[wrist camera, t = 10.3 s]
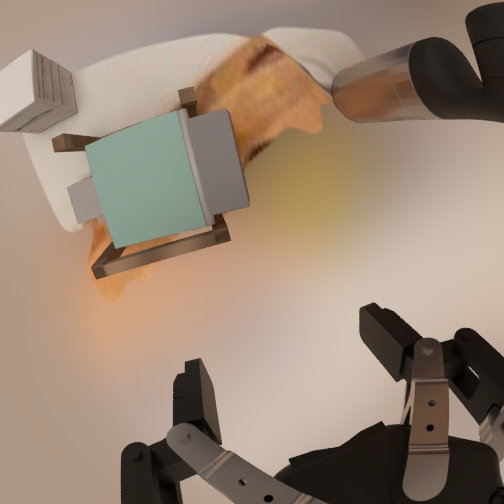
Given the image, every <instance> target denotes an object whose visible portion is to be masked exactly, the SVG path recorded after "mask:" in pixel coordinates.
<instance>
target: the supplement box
mask: <svg viewBox="0 0 504 504" xmlns="http://www.w3.org/2000/svg"><path fill="white" fill-rule="evenodd" d="M74 114H77V108H76V102H75V96H74V90H73V83H72V76H71V72H70V71H68V70H66V69H65V68H63V67H62V66H60V65H58V64H57V63H55V62H53V61H52V60H50V59H48V58H47V57H45V56H43V55H42V54H40V53H38V52H37V51H35V50H33V49H30V50H28V51H27V52H25V53H24V54H22V55H21V56H19V57H18V58H16V59H15V60H14V61H12V62H11V63H10V64H8V65H7V66H5V67H4V68H3V69H1V70H0V132H25V133H41V132H42V131H44V130H45V129H47V128H49V127H50V126H52V125H54V124H56V123H58V122H60V121H62V120H64V119H66V118H68V117H70V116H72V115H74Z"/></svg>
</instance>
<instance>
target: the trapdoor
mask: <svg viewBox="0 0 504 504" xmlns="http://www.w3.org/2000/svg"><path fill="white" fill-rule="evenodd" d="M85 150H86V154H87V158H88V162H89V166H90V170H91V174H92V178H93V181H94V185H95V188H96V192H97V195H98V198H99V202H100V205H101V208H102V211H103V214H104V217H105V220H106V223H107V226H108V229H109V232H110V235H111V238H112V240H113V243H114V246H115V249H117V248H121V247H124V246H128V245H132V244H136V243H140V242H144V241H148V240H152V239H156V238H160V237H164V236H168V235H172V234H177V233H181V232H185V231H189V230H193V229H198V228H202V227H206V226H211V225H214V224H215V220H214V216H213V215H215V214H219V213H224V212H228V211H233V210H237V209H242V208H246V207H249V194H248V190H247V186H246V181H245V176H244V172H243V168H242V163H241V159H240V155H239V150H238V146H237V142H236V137H235V133H234V129H233V124H232V120H231V116H230V113H229V111H228V110H227V109H224V110H219V111H215V112H211V113H207V114H204V115H200V116H196V117H193V118H189V116H188V112H187V108H185V109H180V110H178V111H174V112H171V113H168V114H165V115H161V116H159V117H156V118H153V119H150V120H147V121H144V122H142V123H139V124H136V125H134V126H131V127H128V128H126V129H123V130H121V131H118V132H116V133H114V134H111V135H109V136H107V137H104V138H102V139H100V140H98V141H95V142H93V143H91V144H89V145H87V146H85Z"/></svg>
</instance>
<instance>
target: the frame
mask: <svg viewBox="0 0 504 504" xmlns="http://www.w3.org/2000/svg"><path fill="white" fill-rule="evenodd" d="M178 93H179V97H180V101H181V105H182V109H185V108H187V112H188V116H189V118H193V117H196V103H197V100H196V96H195V91H194V87H189V88H185V89H181V90H178ZM141 123H142V122H141ZM138 124H139V123H138ZM135 125H136V124H135ZM132 126H134V125H132ZM129 127H131V126H129ZM127 128H128V127H127ZM124 129H126V128H124ZM121 130H123V129H121ZM121 130H118V131H121ZM118 131H116V132H118ZM116 132H113V133H111V134H114V133H116ZM111 134H108V135H105V136H103V137H100V138H98V137H91V136H82V135H73V134H61V135H59V136H57V137H55V138H53V139H52V143H53V148H54V152H72V151H86V150H85V146H87V145H89V144H91V143H93V142H95V141H98V140H100V139H102V138H104V137H107V136H109V135H111ZM213 216H214V220H215V224H214V225H212V228H213V230H212V231H208V232H204V233H201V234H197V235H194V236H190V237H187V238H183V239H180V240H176V241H173V242H169V243H166V244H163V245H159V246H156V247H152V248H149V249H146V250H142V251H139V252H136V253H132V254H129V255H126V256H123V257H120V256H121V254H122V253H123V251H124V250H125V248H126V247H127V246H124V247H121V248H117V249H115V246H114V243H113V241H112V242H111V244H110V245H109V246H108V247H107V248H106V250H105V251H104V252H103V253H102V254H101V256H100V257H99V258H98V259H97V261H96V262H95V263H94V264H93V265H92V267H91V268H92V271H93V273H94V275H95V278H96V279H99V278H103V277H106V276H110V275H113V274H116V273H120V272H123V271H126V270H130V269H133V268H137V267H140V266H143V265H147V264H150V263H154V262H157V261H161V260H164V259H167V258H171V257H175V256H178V255H182V254H185V253H188V252H192V251H196V250H199V249H203V248H206V247H210V246H214V245H217V244H221V243H224V242H228V241H231V239H230V235H229V231H228V227H227V225H226V222H225V220H224V218H223V215H222V213H219V214H215V215H213Z"/></svg>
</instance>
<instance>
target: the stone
mask: <svg viewBox="0 0 504 504" xmlns="http://www.w3.org/2000/svg"><path fill="white" fill-rule="evenodd" d="M67 190H68V193H69V196H70V200H71V203H72V206H73V210H74V213H75V216H76V219H77V222H78V224H80V223H83V222H86V221H88V220H91V219H94V218H96V217H99V216H102V215H104V214H103V211H102V208H101V205H100V202H99V198H98V195H97V192H96V188H95V185H94V181H93V178H92V177H90V178H87V179H85V180H82V181H80V182H78V183H75V184H73V185H71V186H68V187H67Z"/></svg>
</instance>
